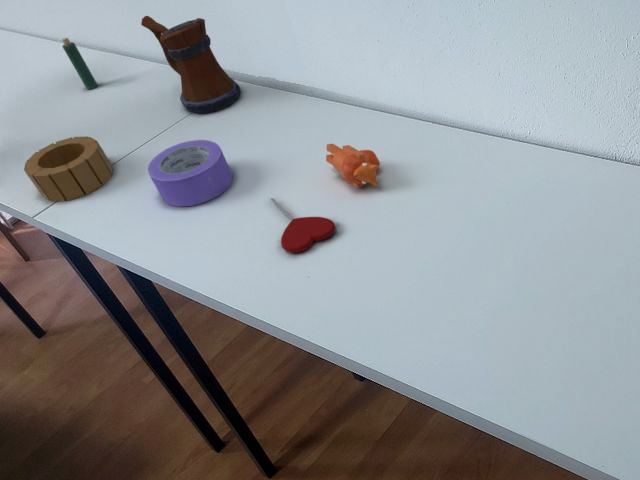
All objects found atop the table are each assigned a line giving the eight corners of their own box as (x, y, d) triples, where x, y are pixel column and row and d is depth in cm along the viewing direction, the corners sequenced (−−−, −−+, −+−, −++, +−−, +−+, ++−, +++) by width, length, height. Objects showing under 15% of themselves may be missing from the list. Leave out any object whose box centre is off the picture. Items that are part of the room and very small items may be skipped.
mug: (154, 101, 129) (115, 24, 118) (199, 76, 135) (166, 1, 124) (207, 120, 121) (170, 39, 110) (253, 92, 126) (222, 13, 115)
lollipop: (249, 213, 97) (291, 258, 89) (246, 208, 97) (289, 252, 88) (295, 190, 100) (341, 231, 91) (294, 185, 99) (339, 226, 91)
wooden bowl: (39, 209, 106) (20, 183, 103) (45, 174, 114) (28, 149, 111) (112, 187, 108) (96, 161, 104) (113, 154, 116) (98, 129, 112)
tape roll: (246, 180, 104) (234, 153, 101) (183, 216, 99) (168, 188, 96) (210, 158, 111) (198, 132, 107) (150, 191, 106) (134, 164, 102)
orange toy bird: (314, 138, 99) (358, 164, 92) (354, 132, 103) (399, 157, 97) (315, 170, 102) (357, 197, 95) (354, 163, 106) (398, 188, 100)
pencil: (86, 90, 137) (58, 42, 130) (87, 86, 139) (59, 38, 132) (97, 87, 138) (70, 39, 130) (98, 83, 139) (71, 35, 132)
